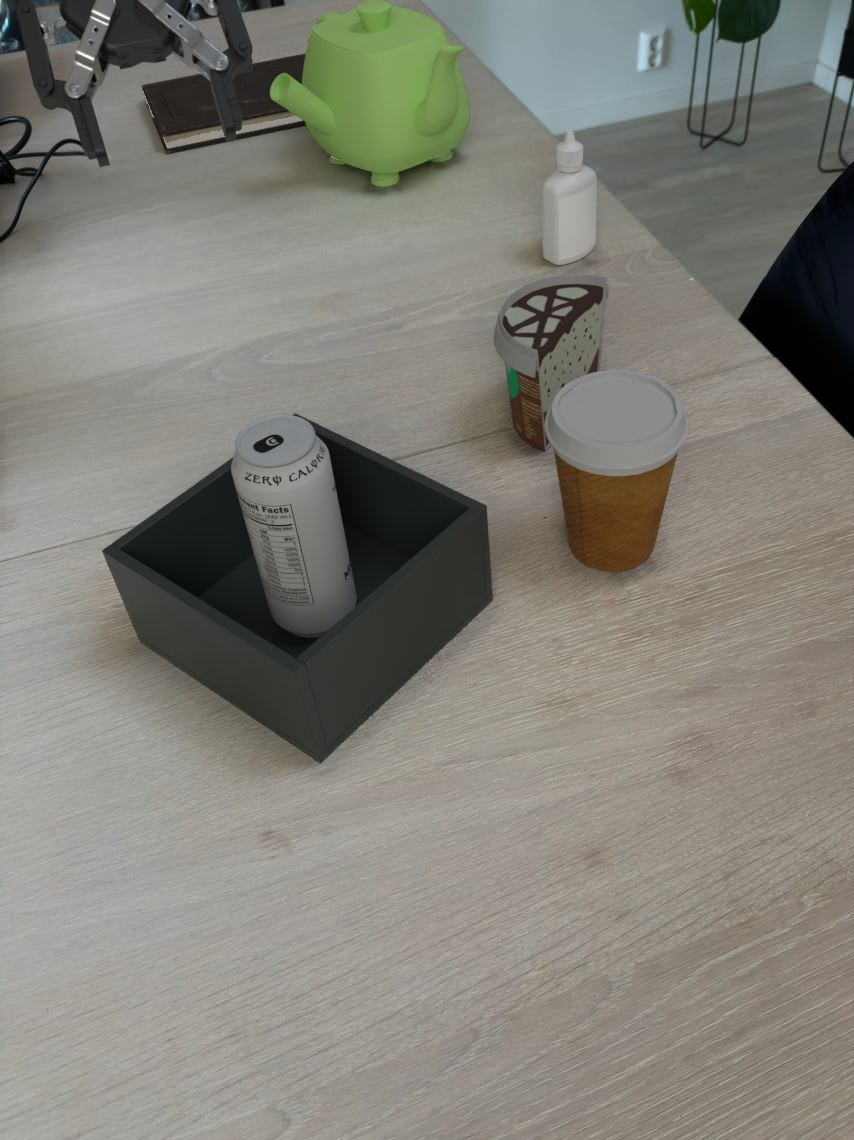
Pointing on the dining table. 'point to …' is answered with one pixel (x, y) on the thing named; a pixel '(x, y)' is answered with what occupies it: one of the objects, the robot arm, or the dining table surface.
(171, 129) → the hardcover book
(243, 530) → the bin
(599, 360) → the food container
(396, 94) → the teapot
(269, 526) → the energy drink can
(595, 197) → the eye dropper bottle
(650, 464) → the disposable coffee cup
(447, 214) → the dining table surface
